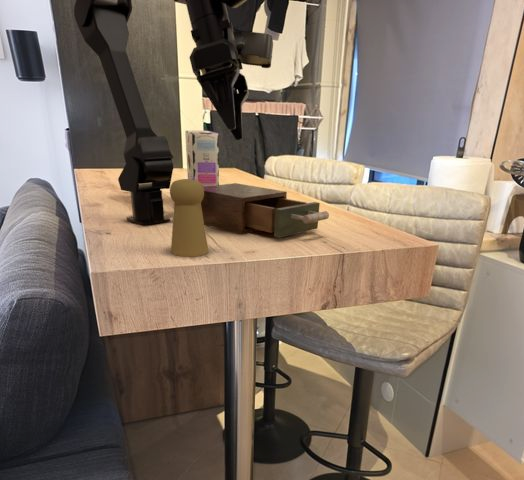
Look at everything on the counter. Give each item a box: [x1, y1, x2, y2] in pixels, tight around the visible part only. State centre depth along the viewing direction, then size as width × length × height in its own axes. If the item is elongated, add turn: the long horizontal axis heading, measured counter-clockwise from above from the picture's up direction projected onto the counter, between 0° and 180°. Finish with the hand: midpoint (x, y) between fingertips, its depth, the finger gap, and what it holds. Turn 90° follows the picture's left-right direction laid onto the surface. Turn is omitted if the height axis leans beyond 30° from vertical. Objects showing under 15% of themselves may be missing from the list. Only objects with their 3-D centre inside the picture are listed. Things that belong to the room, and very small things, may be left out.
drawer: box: [245, 197, 330, 239], centre depth 85 cm, size 18×11×5 cm, turn 47°
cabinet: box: [201, 182, 288, 235], centre depth 92 cm, size 15×13×7 cm
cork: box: [169, 178, 209, 258], centre depth 71 cm, size 6×6×11 cm
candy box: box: [184, 129, 220, 187], centre depth 104 cm, size 14×6×16 cm, turn 14°
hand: (236, 134), depth 72 cm, fingers open, 9 cm apart
